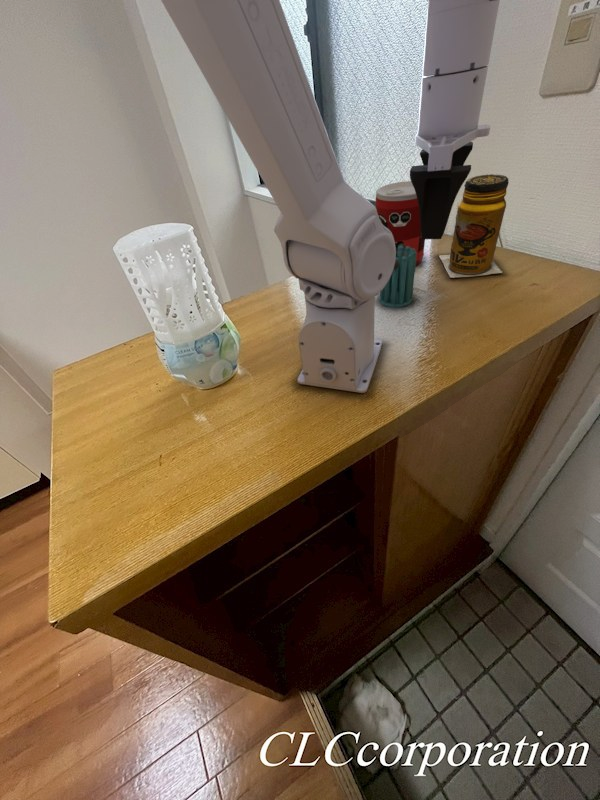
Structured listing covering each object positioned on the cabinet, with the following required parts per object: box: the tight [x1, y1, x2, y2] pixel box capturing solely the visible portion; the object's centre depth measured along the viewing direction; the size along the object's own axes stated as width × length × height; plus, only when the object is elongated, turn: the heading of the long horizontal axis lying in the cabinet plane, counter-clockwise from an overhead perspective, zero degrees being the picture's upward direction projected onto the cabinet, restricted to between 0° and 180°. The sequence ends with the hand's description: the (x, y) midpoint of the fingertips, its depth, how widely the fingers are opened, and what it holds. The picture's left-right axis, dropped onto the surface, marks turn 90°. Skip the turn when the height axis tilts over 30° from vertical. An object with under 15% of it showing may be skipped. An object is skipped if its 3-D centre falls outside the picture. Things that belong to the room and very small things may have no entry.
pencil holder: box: [379, 244, 417, 308], centre depth 47 cm, size 7×6×5 cm
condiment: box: [438, 173, 509, 279], centre depth 50 cm, size 7×8×12 cm
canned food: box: [374, 180, 426, 266], centre depth 55 cm, size 8×8×11 cm
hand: (434, 226), depth 41 cm, fingers open, 7 cm apart
